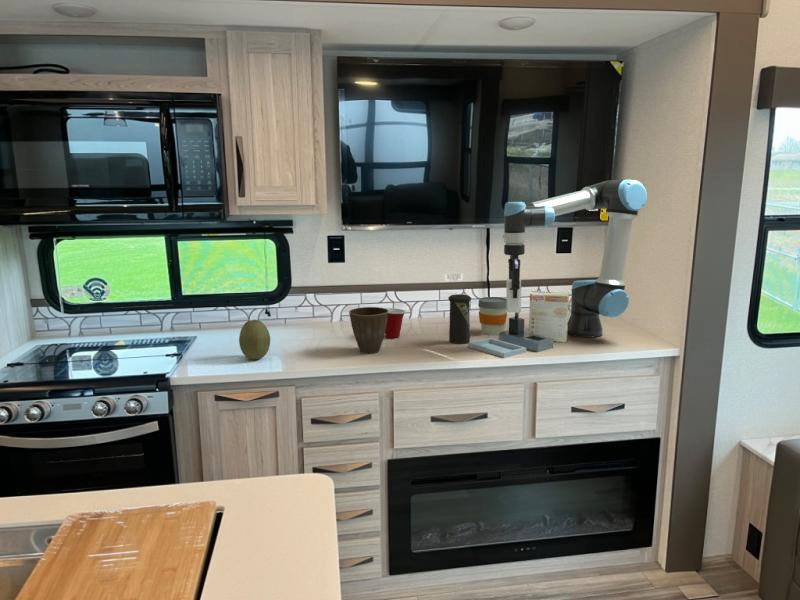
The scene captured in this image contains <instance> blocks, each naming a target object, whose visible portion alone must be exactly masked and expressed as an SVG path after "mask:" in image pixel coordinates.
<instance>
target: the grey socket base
mask: <svg viewBox="0 0 800 600" xmlns="http://www.w3.org/2000/svg"><path fill="white" fill-rule="evenodd" d="M519 313H520V312H514V316H513V317H508V330H505V331H504V330H503V332H499V334H498V340H499V341H503V342H507V343H511V344H514V345H518V346H522V347H525V348H527V349H526V350H528V351H532V352H536V353H539V352H544V351H547V350H551V349H554V339H553V338H548V337H544V336H540V335H536V334H532V333H529V331H528V332H527V331H525V318H523V317H522V318H521V317H519Z"/></svg>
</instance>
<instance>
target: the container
mask: <svg viewBox="0 0 800 600" xmlns="http://www.w3.org/2000/svg"><path fill="white" fill-rule="evenodd" d="M447 299H448V301H449V329H448V330H449V331H448V332H449V334H448V340H449V341H448V342H449V343H450V344H454V345H468V343H470V338H471V337H470V336H471V335H470V331H471V330H470V329H471V328H470V326H471V325H470V315H471V313H470V302H471V301H472V297H471V296H470V295H468V294H463V293H461V294H460V293H459V294H457V293H455V294H451V295H449V296H448V298H447Z"/></svg>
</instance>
